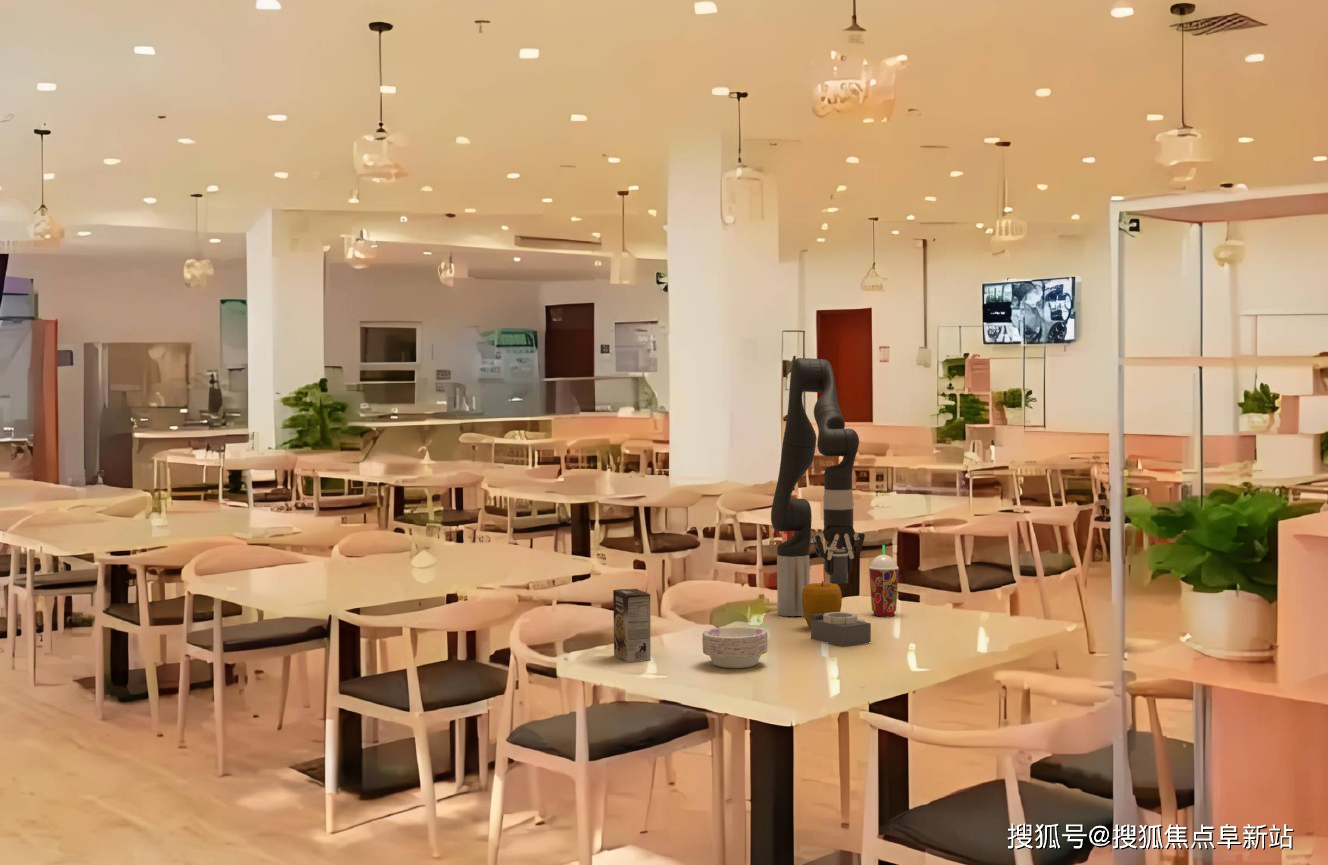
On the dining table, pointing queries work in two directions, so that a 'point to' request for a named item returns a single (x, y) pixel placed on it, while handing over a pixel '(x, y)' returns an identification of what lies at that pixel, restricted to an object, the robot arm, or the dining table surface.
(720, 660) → the paper bowls
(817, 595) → the apple
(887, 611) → the smoothie
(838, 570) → the lens
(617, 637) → the coffee box
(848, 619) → the camera body
